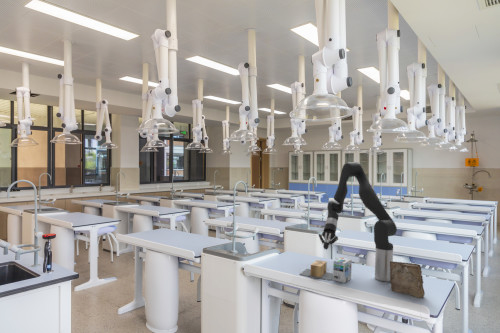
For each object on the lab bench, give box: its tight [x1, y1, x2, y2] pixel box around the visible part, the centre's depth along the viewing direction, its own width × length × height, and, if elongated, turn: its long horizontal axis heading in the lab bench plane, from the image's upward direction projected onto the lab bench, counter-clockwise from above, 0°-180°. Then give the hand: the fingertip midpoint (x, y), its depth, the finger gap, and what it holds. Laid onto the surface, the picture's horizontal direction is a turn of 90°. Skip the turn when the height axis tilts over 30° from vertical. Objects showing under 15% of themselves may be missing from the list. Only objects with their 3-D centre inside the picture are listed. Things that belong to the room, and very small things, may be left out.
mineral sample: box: [389, 261, 426, 299], centre depth 163 cm, size 17×4×15 cm, turn 47°
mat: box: [299, 268, 333, 281], centre depth 189 cm, size 18×13×1 cm
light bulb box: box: [332, 257, 353, 284], centre depth 182 cm, size 11×7×11 cm, turn 143°
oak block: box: [310, 259, 328, 277], centre depth 190 cm, size 6×6×12 cm
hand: (325, 248), depth 203 cm, fingers closed
